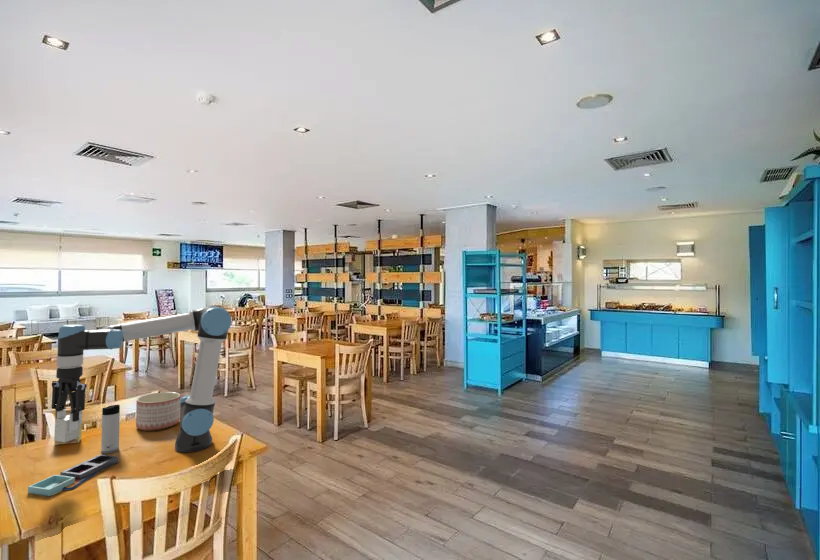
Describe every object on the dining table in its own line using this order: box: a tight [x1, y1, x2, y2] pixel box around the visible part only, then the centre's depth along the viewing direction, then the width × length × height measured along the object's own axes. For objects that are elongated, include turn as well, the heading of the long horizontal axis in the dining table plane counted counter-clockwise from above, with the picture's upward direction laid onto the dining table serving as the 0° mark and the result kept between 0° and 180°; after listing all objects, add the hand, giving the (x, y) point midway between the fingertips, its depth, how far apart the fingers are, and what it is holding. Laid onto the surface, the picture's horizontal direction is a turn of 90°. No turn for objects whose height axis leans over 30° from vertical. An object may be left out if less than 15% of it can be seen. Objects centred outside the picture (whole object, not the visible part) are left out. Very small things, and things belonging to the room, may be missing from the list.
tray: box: [27, 474, 75, 498], centre depth 146 cm, size 9×9×2 cm
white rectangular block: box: [53, 415, 80, 442], centre depth 151 cm, size 5×5×8 cm
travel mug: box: [100, 404, 121, 455], centre depth 178 cm, size 6×7×20 cm
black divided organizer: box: [59, 453, 119, 480], centre depth 160 cm, size 9×16×2 cm, turn 169°
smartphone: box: [53, 470, 99, 491], centre depth 153 cm, size 7×15×1 cm, turn 2°
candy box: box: [54, 407, 83, 446], centre depth 186 cm, size 9×4×15 cm, turn 113°
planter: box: [135, 391, 181, 432], centre depth 209 cm, size 19×19×15 cm
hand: (67, 428), depth 151 cm, fingers closed on white rectangular block, 5 cm apart
